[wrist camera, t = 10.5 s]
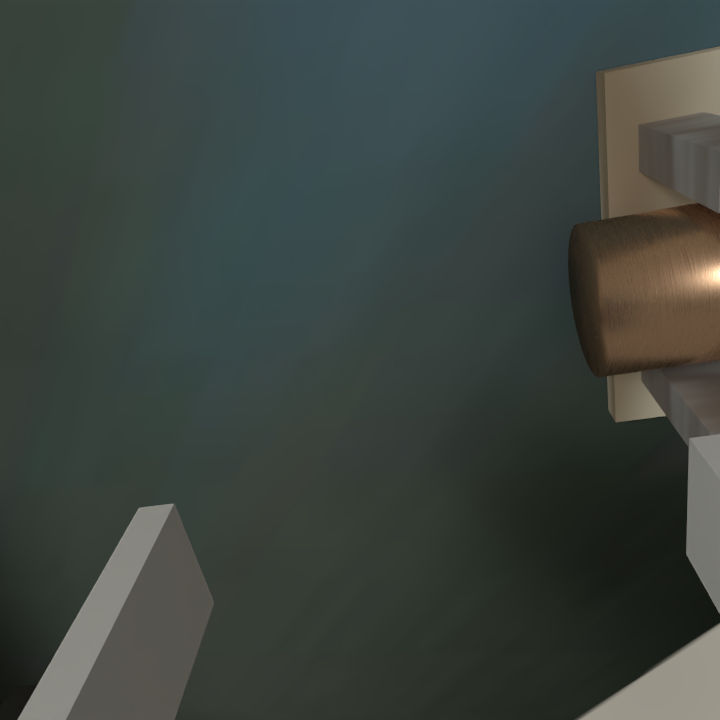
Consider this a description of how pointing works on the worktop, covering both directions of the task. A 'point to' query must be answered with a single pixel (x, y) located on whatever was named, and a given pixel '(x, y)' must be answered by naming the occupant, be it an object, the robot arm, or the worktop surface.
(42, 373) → the worktop surface
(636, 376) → the board
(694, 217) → the tube
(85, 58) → the worktop surface
